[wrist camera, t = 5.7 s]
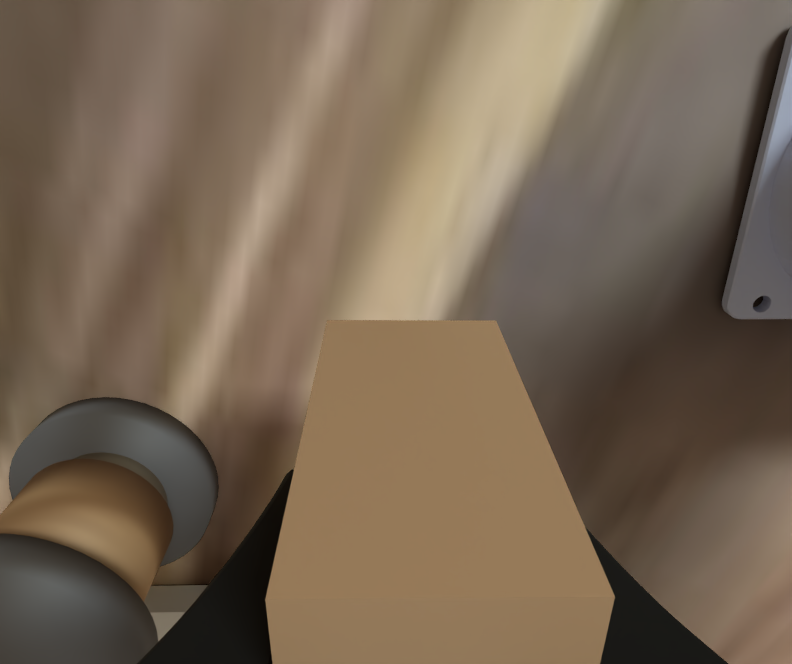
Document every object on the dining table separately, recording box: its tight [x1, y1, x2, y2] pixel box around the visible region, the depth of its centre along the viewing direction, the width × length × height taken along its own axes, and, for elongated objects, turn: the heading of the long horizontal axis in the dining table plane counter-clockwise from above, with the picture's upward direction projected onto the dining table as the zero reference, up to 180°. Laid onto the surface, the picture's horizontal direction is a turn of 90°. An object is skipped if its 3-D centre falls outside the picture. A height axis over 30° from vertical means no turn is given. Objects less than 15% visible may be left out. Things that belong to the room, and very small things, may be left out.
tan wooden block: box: [265, 320, 615, 664], centre depth 9 cm, size 3×6×6 cm, turn 179°
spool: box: [0, 397, 219, 664], centre depth 17 cm, size 6×6×7 cm
